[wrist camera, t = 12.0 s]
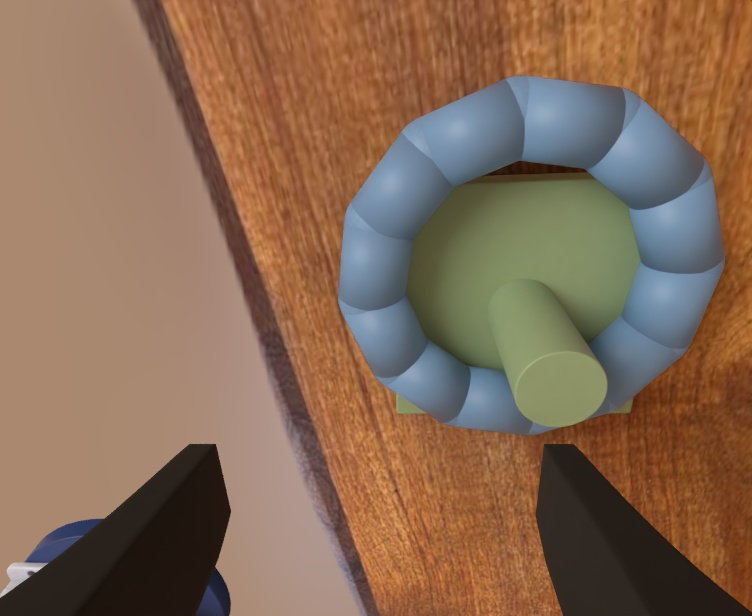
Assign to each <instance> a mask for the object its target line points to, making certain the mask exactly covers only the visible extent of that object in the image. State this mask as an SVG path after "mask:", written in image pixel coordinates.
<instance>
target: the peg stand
mask: <svg viewBox="0 0 752 616" xmlns="http://www.w3.org/2000/svg"><path fill="white" fill-rule="evenodd" d="M640 261H641V259H640V255H639V250H638V246H637V242H636V238H635V233H634V229H633V225H632V221H631V216H630V212H629V208H628V206H627V205H626V204H625V203H624V202H623V201H621V200H620V199H619V198H618V197H617V196H616V195H614V194H613V193H612V192H611V191H610V190H609V189H607V188H606V187H605V186H604V185H603V184H602V183H600V182H599V181H598V180H597V179H596V178H595V177H593V176H592V175H591V174H590V173H589V172H578V173H548V174H518V175H489V176H481V177H478V178H476V179H473V180H471V181H469V182H466V183H464V184H461V185H459V186H457V187H454V189H453V190H452V191H451V192H450V194H449V195H448V196H447V197H446V199H445V200H444V201H443V202H442V203H441V205H440V206H439V207H438V208H437V210H436V211H435V212H434V213H433V215H432V216H431V217H430V218H429V220H428V221H427V222H426V223H425V225H424V226H423V227H422V228H421V229H420V231H419V232H418V233H417V234H416V236H415V237H414V241H413V247H412V254H411V261H410V267H409V274H408V281H407V287H406V294H407V296H408V298H409V300H410V303H411V305H412V307H413V309H414V312H415V314H416V316H417V318H418V321H419V323H420V325H421V327H422V330H423V332H424V334H425V336H426V338H428V339H429V340H431V341H432V342H433V343H435V344H436V345H438V346H439V347H441V348H442V349H444V350H445V351H446V352H448V353H449V354H451V355H452V356H454V357H455V358H457V359H458V360H459V361H461V362H462V363H464V364H465V365H467V366H472V367H480V368H488V369H496V370H504V371H505V372H506V375H507V378H508V381H509V384H510V387H511V390H512V393H513V396H514V399H515V402H516V405H517V407H518V409H519V410H520V412H521V413H522V414H523V415H524V416H525V417H526V418H528V419H529V420H531V421H532V422H534V423H536V424H539V425H542V426H547V427H566V426H570V425H574V424H577V423H579V422H581V421H583V420H585V419H587V418H588V417H590V416H591V415H592V414H594V413H595V412H596V411H597V410H598V409H599V407H600V406H601V405H602V403H603V401H604V399H605V397H606V394H607V389H608V380H607V375H606V373H605V370H604V369H603V367H602V366H601V364H600V363H599V361H598V360H597V358H596V357H595V355H594V354H593V352H592V351H591V349H590V348H589V346H588V344H589V343H591V342H592V341H593V340H594V339H595V338H596V337H597V336H598V335H599V334H600V333H601V332H603V331H604V330H605V329H606V328H607V327H608V326H609V325H610V324H611V323H612V322H613V321H614V320H616V319H617V318H618V317H619V316H620V315H621V314H622V311H623V308H624V305H625V302H626V300H627V297H628V294H629V291H630V289H631V286H632V283H633V280H634V277H635V275H636V272H637V269H638V266H639V263H640ZM633 398H634V397H633ZM633 398H631V399H630V400H629V401H628V402H627V403H625V404H624V405H623V406H622V407H620V408H619V409H617V410H616V411H614V412H611V413H630V412H631V407H632V403H633ZM396 405H397V413H398V414H427V413H426V412H424V411H423V410H421V409H420V408H418V407H417V406H415V405H414V404H412V403H410V402H409V401H407V400H406V399H404V398H403V397H401V396H400V395H398V394H397V393H396Z"/></svg>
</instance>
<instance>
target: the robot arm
mask: <svg viewBox="0 0 752 616" xmlns="http://www.w3.org/2000/svg"><path fill="white" fill-rule="evenodd" d="M230 513H231V509H230V505H229V500H228V496H227V492H226V487H225V483H224V478H223V474H222V469H221V465H220V460H219V456H218V451H217V447H216V444H189V445H188V446H187V447H185V448H184V449H183V450H182V451H181V452H180V453H179V454H178V455H176V456H175V457H174V458H173V459H172V460H171V461H170V462H169V463H167V464H166V465H165V466H164V467H163V468H162V469H161V470H160V471H158V472H157V473H156V474H155V475H154V476H153V477H152V478H151V479H150V480H148V481H147V482H146V483H145V484H144V485H143V486H142V487H141V488H139V489H138V490H137V491H136V492H135V493H134V494H133V495H132V496H130V497H129V498H128V499H127V500H126V501H125V502H124V503H122V504H121V505H120V506H119V507H118V508H117V509H116V510H114V511H113V512H112V513H111V514H110V515H108V516H107V517H106V518H105V519H104V520H102V521H101V522H100V523H99V524H97V525H96V526H95V527H94V528H93V529H91V530H90V531H89V532H88V533H86V534H85V535H84V536H83V537H81V538H80V539H79V540H78V541H77V542H75V543H74V544H73V545H72V546H70V547H69V548H68V549H67V550H65V551H64V552H63V553H62V554H60V555H59V556H58V557H56V558H55V559H54V560H52V561H51V562H50V563H40V562H15V563H12V564H11V565H10V566H9V567H8V569H7V574H8V576H9V578H10V580H11V581H10V583H9V584H8V585H7V587H6V588H5V589H4V590H3V592H2V593H1V594H0V616H195V615H196V613H197V610H198V608H199V605H200V603H201V600H202V598H203V595H204V593H205V590H206V588H207V586H208V583H209V581H210V578H211V576H212V573H213V571H214V568H215V565H216V563H217V560H218V558H219V554H220V551H221V547H222V543H223V541H224V537H225V533H226V529H227V526H228V522H229V518H230ZM536 518H537V523H538V528H539V533H540V538H541V543H542V547H543V552H544V556H545V561H546V564H547V567H548V570H549V574H550V577H551V580H552V583H553V586H554V589H555V592H556V595H557V598H558V601H559V604H560V607H561V610H562V613H563V616H752V612H750V611H749V610H748V609H747V608H745V607H744V606H743V605H742V604H740V603H739V602H738V601H737V600H735V599H734V598H733V597H732V596H730V595H729V594H728V593H727V592H725V591H724V590H723V589H722V588H721V587H719V586H718V585H717V584H716V583H714V582H713V581H712V580H711V579H710V578H708V577H707V576H706V575H705V574H704V573H703V572H701V571H700V570H699V569H698V568H697V567H696V566H695V565H693V564H692V563H691V562H690V561H689V560H688V559H687V558H686V557H685V556H684V555H682V554H681V553H680V552H679V551H678V550H677V549H676V548H675V547H674V546H672V545H671V544H670V543H669V542H668V541H667V540H666V539H665V538H664V537H663V536H662V535H661V534H660V533H659V532H658V531H657V530H656V529H655V528H654V527H653V526H652V525H651V524H650V523H649V522H648V521H647V520H646V519H645V518H644V517H643V516H642V515H641V514H640V513H639V512H638V511H637V510H636V509H635V508H634V507H633V506H632V505H631V504H630V503H629V502H628V501H627V500H626V499H625V498H624V497H623V496H622V495H621V494H620V493H619V492H618V491H617V490H616V489H615V488H614V487H613V486H612V485H611V484H610V482H609V481H608V480H607V479H606V478H605V477H604V476H603V475H602V474H601V473H600V472H599V471H598V470H597V469H596V467H595V466H594V465H593V464H592V463H591V462H590V461H589V460H588V459H587V458H586V457H585V456H584V454H583V453H582V452H581V451H580V450H579V449H578V448H577V447H576V446H575V445H574V444H544V452H543V460H542V468H541V476H540V484H539V492H538V500H537V509H536Z"/></svg>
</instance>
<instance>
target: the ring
mask: <svg viewBox="0 0 752 616" xmlns="http://www.w3.org/2000/svg"><path fill="white" fill-rule="evenodd" d="M517 161H526V162H534V163H542V164H550V165H558V166H567V167H575V168H583V169H585V170H586V171H588V172H589V173H590V174H591V175H592V176H593V177H595V178H596V179H597V180H598V181H599V182H600V183H602V184H603V185H604V186H605V187H606V188H607V189H609V190H610V191H611V192H612V193H613V194H614V195H616V196H617V197H618V198H619V199H620V200H621V201H623V202H624V203H625V204H626V205H627V206H628V208H629V212H630V216H631V221H632V225H633V229H634V233H635V238H636V242H637V246H638V250H639V255H640V259H641V261H640V263H639V266H638V269H637V272H636V275H635V277H634V280H633V283H632V286H631V289H630V291H629V294H628V297H627V300H626V302H625V305H624V308H623V311H622V314H621V315H620V316H619V317H618V318H617V319H616V320H614V321H613V322H612V323H611V324H610V325H609V326H608V327H607V328H606V329H605V330H604V331H603V332H601V333H600V334H599V335H598V336H597V337H596V338H595V339H594V340H593V341H592V342H591V343H589V344H588V346H589V348H590V349H591V351H592V352H593V354H594V355H595V357H596V358H597V360H598V361H599V363H600V364H601V366H602V367H603V369H604V370H605V373H606V375H607V380H608V389H607V394H606V397H605V399H604V401H603V403H602V405H601V406H600V407H599V409H598V410H597V411H596V412H595V413H594V414H592V415H591V416H590V417H588V418H587V419H585V420H588V419H591V418H594V417H598V416H601V415H605V414H608V413H611V412H614V411H616V410H617V409H619V408H620V407H622V406H623V405H624V404H625V403H627V402H628V401H629V400H630V399H631V398H633V397H634V396H635V395H636V394H637V393H639V392H640V391H641V390H642V389H643V388H645V387H646V386H647V385H648V384H649V383H651V382H652V381H653V380H654V379H655V378H657V377H658V376H659V375H660V374H661V373H663V372H664V371H665V370H666V369H667V368H669V367H670V366H671V365H672V364H673V363H675V362H676V361H677V360H678V359H679V358H681V357H682V356H683V355H684V354H685V353H686V352H687V350H688V349H689V347H690V345H691V343H692V341H693V339H694V336H695V334H696V332H697V329H698V327H699V325H700V323H701V320H702V318H703V316H704V313H705V311H706V309H707V306H708V304H709V302H710V300H711V297H712V295H713V293H714V290H715V288H716V286H717V284H718V281H719V279H720V277H721V274H722V272H723V269H724V266H725V258H726V256H725V249H724V242H723V236H722V230H721V224H720V218H719V212H718V206H717V200H716V193H715V187H714V181H713V175H712V171H711V167H710V165H709V163H708V162H707V160H706V159H705V158H704V157H703V155H702V154H701V153H700V152H699V151H697V150H696V149H695V148H694V147H693V146H692V145H691V144H690V143H689V142H688V141H687V140H686V139H685V138H683V137H682V136H681V135H680V134H679V133H678V132H677V131H676V130H675V129H674V128H673V127H672V126H671V125H670V124H668V123H667V122H666V121H665V120H664V119H663V118H662V117H661V116H660V115H659V114H658V113H657V112H656V111H654V110H653V109H652V108H651V107H650V106H649V105H648V104H647V103H646V102H645V101H644V100H643V99H642V98H641V97H639V96H638V95H637V94H636V93H634V92H632V91H630V90H628V89H625V88H621V87H615V86H607V85H599V84H590V83H582V82H574V81H566V80H558V79H550V78H542V77H534V76H525V75H517V76H511V77H508V78H506V79H503V80H501V81H499V82H496V83H494V84H492V85H490V86H487V87H485V88H483V89H481V90H479V91H476V92H474V93H472V94H470V95H468V96H465V97H463V98H461V99H459V100H457V101H454V102H452V103H450V104H448V105H446V106H443V107H441V108H439V109H437V110H435V111H432V112H430V113H428V114H426V115H424V116H421V117H419V118H417V119H416V120H414V121H412V122H411V123H409V124H408V125H407V126H406V127H405V128H404V129H403V131H402V132H401V133H400V135H399V136H398V137H397V139H396V140H395V141H394V143H393V144H392V146H391V147H390V148H389V150H388V151H387V153H386V154H385V155H384V157H383V158H382V159H381V161H380V162H379V164H378V165H377V166H376V168H375V169H374V171H373V172H372V173H371V175H370V176H369V177H368V179H367V180H366V182H365V183H364V184H363V186H362V187H361V189H360V190H359V191H358V193H357V194H356V195H355V197H354V198H353V200H352V201H351V203H350V204H349V206H348V208H347V211H346V214H345V221H344V232H343V244H342V255H341V267H340V278H339V290H338V302H339V306H340V309H341V312H342V314H343V316H344V318H345V320H346V322H347V323H348V325H349V327H350V329H351V331H352V333H353V335H354V337H355V339H356V341H357V343H358V345H359V347H360V349H361V351H362V353H363V355H364V357H365V359H366V361H367V363H368V365H369V367H370V369H371V371H372V373H373V374H374V376H375V377H376V379H377V380H378V381H379V382H381V383H382V384H383V385H384V386H386V387H387V388H389V389H391V390H392V391H394V392H395V393H397V394H398V395H400V396H401V397H403V398H404V399H406V400H407V401H409V402H410V403H412V404H414V405H415V406H417V407H418V408H420V409H421V410H423V411H424V412H426V413H427V414H429V415H430V416H432V417H433V418H435V419H437V420H438V421H440V422H441V423H443V424H445V425H448V426H453V427H460V428H468V429H476V430H484V431H492V432H500V433H508V434H516V435H527V436H531V435H537V434H540V433H543V432H547V431H550V430H554V429H557V428H560V427H547V426H542V425H539V424H536V423H534V422H532V421H531V420H529V419H528V418H526V417H525V416H524V415H523V414H522V413H521V412H520V410H519V409H518V407H517V405H516V402H515V399H514V396H513V393H512V390H511V387H510V384H509V381H508V378H507V375H506V372H505V371H504V370H496V369H488V368H480V367H472V366H467V365H465V364H464V363H462V362H461V361H459V360H458V359H457V358H455V357H454V356H452V355H451V354H449V353H448V352H446V351H445V350H444V349H442V348H441V347H439V346H438V345H436V344H435V343H433V342H432V341H431V340H429V339H428V338H426V336H425V334H424V332H423V330H422V327H421V325H420V323H419V321H418V318H417V316H416V314H415V312H414V309H413V307H412V305H411V303H410V300H409V298H408V296H407V294H406V287H407V281H408V274H409V267H410V261H411V254H412V247H413V241H414V237H415V236H416V234H417V233H418V232H419V231H420V229H421V228H422V227H423V226H424V225H425V223H426V222H427V221H428V220H429V218H430V217H431V216H432V215H433V213H434V212H435V211H436V210H437V208H438V207H439V206H440V205H441V203H442V202H443V201H444V200H445V199H446V197H447V196H448V195H449V194H450V192H451V191H452V190H453V189H454V187H457V186H459V185H461V184H464V183H466V182H469V181H471V180H473V179H476V178H478V177H481V176H483V175H486V174H488V173H490V172H493V171H495V170H498V169H500V168H502V167H505V166H507V165H510V164H512V163H514V162H517ZM583 421H584V420H583Z"/></svg>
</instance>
